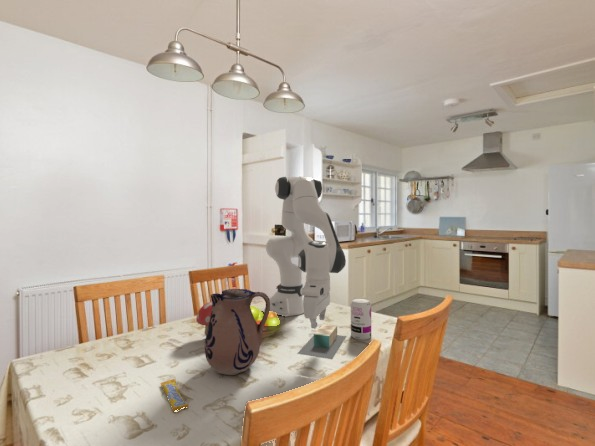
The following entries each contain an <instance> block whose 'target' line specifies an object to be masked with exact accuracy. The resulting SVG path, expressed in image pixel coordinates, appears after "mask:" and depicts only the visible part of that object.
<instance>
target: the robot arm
mask: <svg viewBox="0 0 595 446" xmlns="http://www.w3.org/2000/svg"><path fill="white" fill-rule="evenodd" d="M274 190H275V194H276V197H277V198H278V199H281V200H283V201H282V210H281V211H282V213H281V225H282V227H283V228H284V229H286V230H287V231H288V232H291V236H290V235H289V236H277V237H273V238H270V239H268V241H267V242H266V245H265V251H266V253H267V256H268V257H269V258H271V259H272V260H273V261H275V262H276V263H275V264H277V266H278V269H279V276H280V277H279V280H280V283H279V284H278V285H277V286H276V288H275V289H277V291H276V292H274V293H273V294H272V295H271V296H270V297H269V300H270V311H273V312H276V313H277V314H278V315H283V316H285V317H292V316H300V315H302V314H303V315H304V316H303V317H304V318H305V319H309V321H310V327H311V329H314V330H316V329H317V327H318V322H317V317H318V318H319V320H320V321H324V320H325V319H326V311H327V307H328V306H329V305H330V303H331V275H330V274H338V273H340V272H341V271H342V270H343V269H344V268H345V267H346V255H345V252H344V251H343V248H342V247H341V244H340V242H339V238H338V235H337V232H336V230H335V226H334V225H333V222H332V219H331V217H330V215H329V213H328V212H326V211H325V210H323V208H322V207H321V205H320V203H319V198H320V197H321V196H322V192H323V184H322V182H321V180H320V179H319V178H317V177H316V178H315V177H308V176H282V177H278V179H277V180H276V183H275V185H274ZM305 225H310V226H313V227H314V228H317V229H319V230H320V231H321V232H322V233H323V236H324V238H325V241H321V240H314V239H313V238H312V237H310V236H309V235H308V233H307V232H306V230H305ZM293 258H298V265H297V264H294V263H292V259H293ZM302 272H303V273H306V276H305V283H304V285H303V281H302V279H303V277H302V276H303V275H302V274H303V273H302ZM265 307H266V305H265V306H264V307H263V308H262V310H261V312H262V311H263V312H264V313H265ZM263 312H262V313H263ZM264 313H263V314H264ZM278 315H277V316H278ZM283 316H282V317H283ZM285 317H284V318H285Z"/></svg>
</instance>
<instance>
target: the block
mask: <svg viewBox="0 0 595 446" xmlns="http://www.w3.org/2000/svg"><path fill="white" fill-rule="evenodd" d="M313 335H314V346H318V347H324V348H330V346H331V345H332V343H333V342H334V341H335V339H336V338H337V335H338V325H335V324H325V323H323V324H321V325H320V327H319V328H318V329H317V330H316V331H315V332H314V333H313Z"/></svg>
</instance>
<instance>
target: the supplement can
mask: <svg viewBox="0 0 595 446" xmlns="http://www.w3.org/2000/svg"><path fill="white" fill-rule="evenodd" d="M350 336H351V337H352V338H354V339H356V340H358V341H359V340H360V341H363V340H369V339H371V337H372V304H371V302H370V300H369V299H367V298H353V299H352V300H351V303H350Z"/></svg>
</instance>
